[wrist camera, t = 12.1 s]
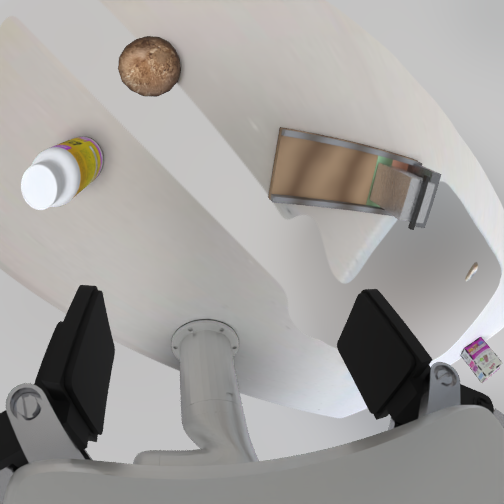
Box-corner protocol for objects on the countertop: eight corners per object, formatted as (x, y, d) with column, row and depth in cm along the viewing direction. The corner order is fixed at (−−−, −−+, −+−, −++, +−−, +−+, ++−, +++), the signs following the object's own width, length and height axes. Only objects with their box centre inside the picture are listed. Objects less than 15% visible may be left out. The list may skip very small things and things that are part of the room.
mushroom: (103, 100, 27) (119, 78, 22) (116, 47, 26) (134, 21, 21) (161, 110, 32) (186, 93, 28) (169, 59, 31) (194, 39, 27)
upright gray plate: (417, 163, 40) (441, 174, 35) (403, 213, 44) (424, 228, 39) (408, 161, 40) (433, 171, 35) (395, 211, 44) (416, 226, 39)
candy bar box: (459, 355, 84) (481, 384, 70) (463, 348, 82) (486, 376, 68) (477, 344, 85) (498, 370, 71) (481, 336, 82) (503, 362, 68)
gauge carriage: (403, 163, 39) (439, 179, 32) (391, 208, 43) (423, 231, 36) (380, 156, 38) (416, 172, 31) (367, 204, 42) (399, 228, 35)
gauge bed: (413, 159, 41) (422, 162, 39) (398, 213, 46) (406, 218, 44) (279, 127, 35) (285, 129, 33) (268, 197, 40) (272, 202, 38)
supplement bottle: (99, 130, 31) (57, 145, 20) (108, 177, 34) (74, 212, 23) (58, 143, 30) (7, 165, 19) (68, 187, 33) (24, 225, 22)
